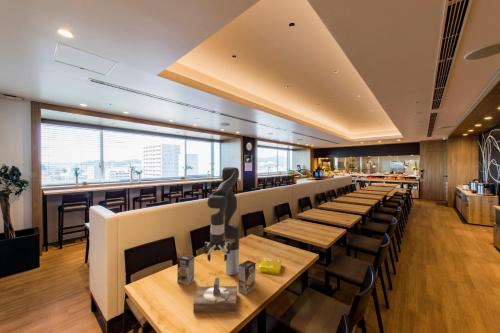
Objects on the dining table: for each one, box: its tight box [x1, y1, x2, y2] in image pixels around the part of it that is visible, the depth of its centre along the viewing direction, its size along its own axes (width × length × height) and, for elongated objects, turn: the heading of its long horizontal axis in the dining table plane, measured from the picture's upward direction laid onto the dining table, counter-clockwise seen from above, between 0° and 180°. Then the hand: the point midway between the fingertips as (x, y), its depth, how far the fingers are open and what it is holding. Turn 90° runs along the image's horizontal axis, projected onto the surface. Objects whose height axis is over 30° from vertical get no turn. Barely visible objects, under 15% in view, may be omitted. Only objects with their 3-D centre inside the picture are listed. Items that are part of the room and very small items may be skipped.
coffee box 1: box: [177, 253, 195, 285], centre depth 137 cm, size 9×6×16 cm
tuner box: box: [192, 285, 238, 314], centre depth 116 cm, size 15×22×6 cm
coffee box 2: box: [237, 259, 256, 296], centre depth 128 cm, size 9×6×16 cm
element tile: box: [258, 257, 283, 275], centre depth 155 cm, size 15×15×5 cm
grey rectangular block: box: [213, 277, 220, 301], centre depth 114 cm, size 10×4×7 cm, turn 2°
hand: (217, 260), depth 116 cm, fingers open, 8 cm apart
